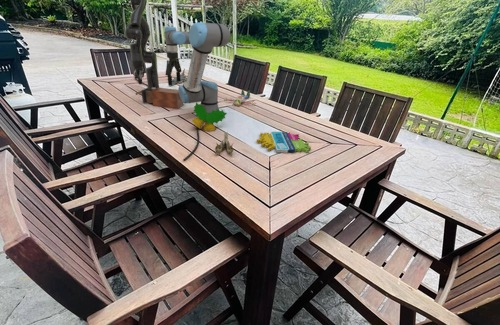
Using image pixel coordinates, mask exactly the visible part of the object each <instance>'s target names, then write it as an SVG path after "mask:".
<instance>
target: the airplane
mask: <svg viewBox="0 0 500 325" xmlns="http://www.w3.org/2000/svg"><path fill="white" fill-rule="evenodd" d="M185 70H186V68H183V70H182V72H181V74H180V79H181V81H177V76H172V85H168V87H172V86H174V85H176V84H182V83H184V81H185V80H186V79H187V76H188V75H186V74H185ZM165 77H166V78H168V76H166V75H165Z"/></svg>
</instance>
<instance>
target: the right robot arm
mask: <svg viewBox="0 0 500 325" xmlns="http://www.w3.org/2000/svg"><path fill="white" fill-rule="evenodd" d="M164 37H165V48H166V57H167V60H166V67H165V77H166V76H168V77H167V84H168V86H169V85H172V80H173V78H172V77H173V75H172V73H173V68H175V71H176V74H175V75H176V76H175V77H177V81H181V79H180V75H181V73H182V66H181V62H180V59H179V52H178V51H179V48H178V47H179V46H181V45H190V46H191V48H192V53H191V58H190V63H189V67H188V73H187V75H186V76H187V77H186V78H187V79H185V80H184V81H183V82H182V83H183V84H180V85H179V86H178V90H179V95H180V98H181V100H182V102H183V103H184V104H196V102H197V103H200V104H201V106H204V109H206V112H208V113H211V112H212V110H214V111H216V110H217V109H219V111H221V110H220V108H219V102H218V99H219V98H218V97H219V87H218V84H217V83H216V82H214V81H211V80H202V79H203V77H204V76H203V75H204V71H205V68H206V65H207V60H208V56H209V55H210V54H212V52H213V49H214V48H221V47H225V46H227V45H228V44H229V43H230V40H231V37H232V36H231V31H230V29H229V28H228V26H227V25H225V24H222V23H213V22H203V21H201V22H194V23H193V24H191V26H190V28H189V31H180V30H179V31H177V28H176V26H165V27H164ZM172 86H173V85H172ZM208 113H207V115H208ZM204 123H205V121H204ZM196 136H197V139H196V140H197V142H196V145H195V147H194V148H193V149H192V151H191V152H190V153H189V154H188V155H187V156H185V157H184V158H183V162H185V161H186V160H188V159H189V158H190V157H191V156H192V155H193V154H194V153H195V152H196V150H197V149H198V147H199V144H200V133H199V128H198V127H197V126H196Z"/></svg>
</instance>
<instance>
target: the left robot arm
mask: <svg viewBox="0 0 500 325" xmlns="http://www.w3.org/2000/svg"><path fill="white" fill-rule="evenodd" d="M129 2H130V5H131V9H132V12H131V14H130V18H129V23H128V24H127V26H126V28H125V30H124V36H125V37H126V39H127V40H130V41H131V40H132V41H135V42H134V43H130V44H129V48H130V57H131V59H130V60H131V64H132V67H133V71H132V75H133V77H134V80H136V81H137V82H138V85H145V86H147V88H149V89H156V88H158V87H159V88H160V83H159V73H158V57H157V53H156V52H155V51H150V50H147V44H148V42H149V40H150V37H151V29H150V25H149V23H148V22H147V20H146V19H145V17H144V16H143V15H144V12H145V10H146V7H147V2H148V0H129ZM144 64H151V65H150V66H149V67H148V66H147V67H146V68H145V69H143V68H144ZM145 74H146V83H145V82H143V78H144V77H145Z"/></svg>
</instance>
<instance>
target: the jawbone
mask: <svg viewBox="0 0 500 325" xmlns="http://www.w3.org/2000/svg"><path fill="white" fill-rule="evenodd" d="M223 135H224V136H223V140H222V139H221V142H220V144H218V142H215V144H216V146H215V148H214V149H215V152H214V154H215V155H217V156H218V155H220V153H221V152H223V151H224V150H226V152H227V153H228V155H229V156H233V155H234V154H233V153H234V148H233V144H234V143H230V140H228V139H229V138H228V137H229V136H228V135H229V133H228V131H226V132H224V134H223Z"/></svg>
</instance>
